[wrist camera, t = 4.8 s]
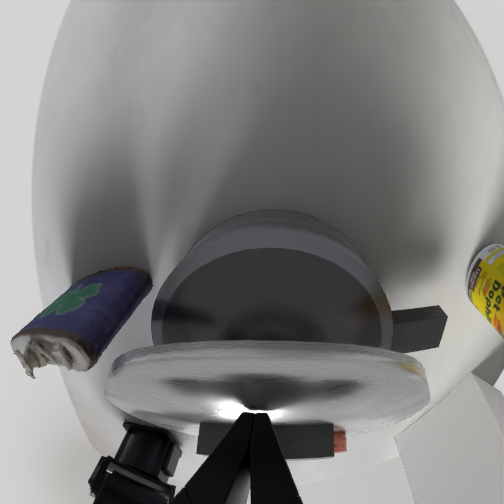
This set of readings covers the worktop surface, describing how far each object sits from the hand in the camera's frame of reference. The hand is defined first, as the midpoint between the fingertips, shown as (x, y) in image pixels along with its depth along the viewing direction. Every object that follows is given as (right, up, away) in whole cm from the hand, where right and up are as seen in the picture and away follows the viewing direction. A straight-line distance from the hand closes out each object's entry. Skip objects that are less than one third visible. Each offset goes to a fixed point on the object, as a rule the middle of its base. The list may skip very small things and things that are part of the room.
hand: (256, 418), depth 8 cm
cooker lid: (+1, -2, +4) cm, 5 cm away
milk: (+25, -15, +16) cm, 33 cm away
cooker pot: (+3, +1, +12) cm, 12 cm away
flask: (-12, +3, +13) cm, 18 cm away
